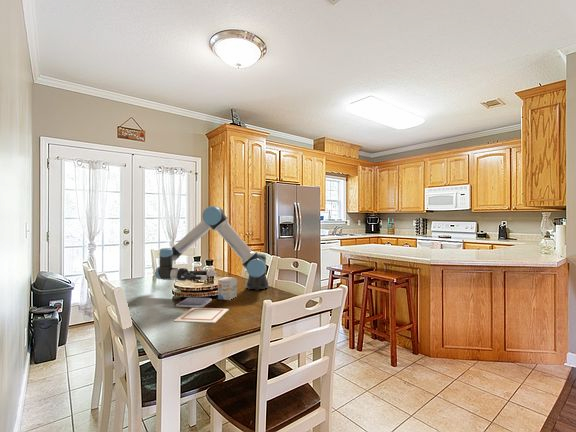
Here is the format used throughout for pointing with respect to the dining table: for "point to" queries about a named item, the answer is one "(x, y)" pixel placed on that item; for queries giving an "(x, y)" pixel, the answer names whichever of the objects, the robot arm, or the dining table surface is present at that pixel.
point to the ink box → (227, 288)
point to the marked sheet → (202, 315)
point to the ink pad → (194, 302)
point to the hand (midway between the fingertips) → (211, 275)
